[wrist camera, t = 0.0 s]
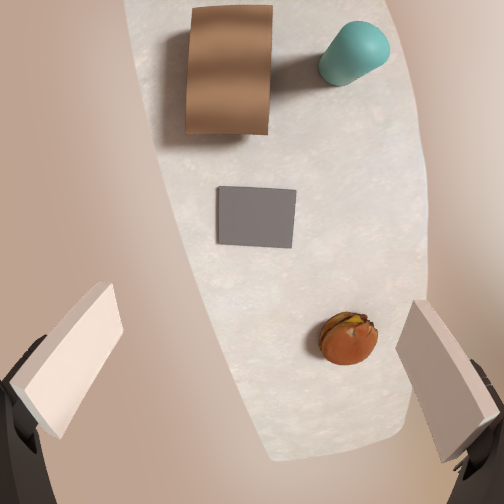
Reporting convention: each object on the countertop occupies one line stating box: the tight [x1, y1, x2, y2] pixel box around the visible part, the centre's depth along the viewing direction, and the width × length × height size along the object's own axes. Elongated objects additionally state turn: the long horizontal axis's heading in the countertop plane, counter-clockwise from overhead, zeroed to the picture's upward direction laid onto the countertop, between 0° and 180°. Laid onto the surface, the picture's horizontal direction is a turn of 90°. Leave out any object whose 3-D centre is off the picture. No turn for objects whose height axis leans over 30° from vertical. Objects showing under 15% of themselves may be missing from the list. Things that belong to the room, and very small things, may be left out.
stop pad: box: [219, 186, 296, 248], centre depth 39 cm, size 8×10×1 cm
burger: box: [319, 312, 378, 365], centre depth 44 cm, size 10×9×5 cm
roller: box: [318, 21, 390, 86], centre depth 25 cm, size 5×5×12 cm
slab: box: [185, 5, 273, 135], centre depth 29 cm, size 16×9×6 cm, turn 178°
